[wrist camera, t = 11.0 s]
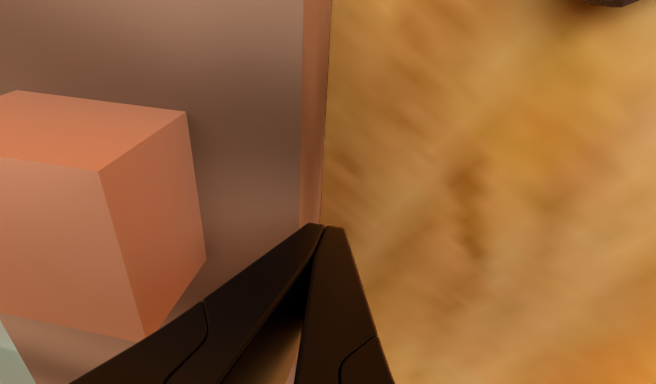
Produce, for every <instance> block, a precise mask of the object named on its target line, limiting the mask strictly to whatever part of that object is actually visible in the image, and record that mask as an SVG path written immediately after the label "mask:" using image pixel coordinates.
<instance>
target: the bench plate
mask: <svg viewBox="0 0 656 384" xmlns="http://www.w3.org/2000/svg"><path fill="white" fill-rule="evenodd" d="M331 7H332V0H0V96H1V95H4V94H7V93H9V92H12V91H15V90H20V91H28V92H36V93H44V94H52V95H60V96H67V97H75V98H83V99H91V100H99V101H107V102H114V103H122V104H130V105H138V106H146V107H153V108H161V109H169V110H177V111H185V112H186V115H187V122H188V129H189V136H190V143H191V150H192V157H193V164H194V172H195V179H196V186H197V193H198V200H199V207H200V214H201V221H202V229H203V236H204V243H205V250H206V257H207V259H206V261H205V262H204V264H203V265H202V267H201V268H200V269H199V271H198V272H197V274H196V275H195V277H194V278H193V280H192V281H191V282H190V284H189V285H188V287H187V288H186V290H185V291H184V293H183V294H182V295H181V297H180V298H179V300H178V301H177V303H176V304H175V306H174V307H173V308H172V310H171V311H170V313H169V314H168V316H167V317H166V319H165V320H164V321H163V323H162V324H161V326H160V327H159V329H160V328H162V327H163V326H165V325H166V324H168V323H169V322H171V321H172V320H174V319H175V318H176V317H178V316H179V315H181V314H182V313H184V312H185V311H187V310H188V309H189V308H191V307H192V306H193V305H195V304H196V303H198V302H199V301H202V300H203V298H205V297H206V296H207V295H209V294H210V293H212V292H213V291H214V290H216V289H217V288H219V287H220V286H221V285H223V284H224V283H225V282H227V281H228V280H230V279H231V278H232V277H234V276H235V275H236V274H238V273H239V272H241V271H242V270H243V269H245V268H246V267H248V266H249V265H250V264H252V263H253V262H254V261H256V260H257V259H259V258H260V257H261V256H263V255H264V254H265V253H267V252H268V251H270V250H271V249H272V248H274V247H275V246H276V245H278V244H279V243H281V242H282V241H283V240H285V239H286V238H288V237H289V236H290V235H292V234H293V233H294V232H296V231H297V230H299V229H300V228H301V227H303V226H304V225H305V224H307V223H316V224H320V209H321V191H322V172H323V154H324V136H325V117H326V99H327V80H328V62H329V44H330V25H331ZM202 302H203V301H202ZM0 321H1V322H2V324H3V326H4V328H5V330H6V331H7V333H8V335H9V337H10V338H11V340H12V342H13V344H14V346H15V347H16V349H17V351H18V353H19V354H20V356H21V358H22V360H23V362H24V363H25V365H26V367H27V369H28V370H29V372H30V374H31V376H32V378H33V379H34V381H35V383H36V384H69V383H70V382H72V381H74V380H75V379H77V378H79V377H80V376H82V375H84V374H86V373H87V372H89V371H91V370H92V369H94V368H96V367H97V366H99V365H101V364H102V363H104V362H106V361H107V360H109V359H111V358H113V357H114V356H116V355H118V354H119V353H121V352H123V351H124V350H126V349H128V348H129V347H131V346H133V345H134V344H136V343H138V342H134V341H129V340H125V339H120V338H115V337H111V336H106V335H101V334H97V333H92V332H88V331H83V330H78V329H74V328H69V327H64V326H60V325H55V324H51V323H46V322H41V321H37V320H32V319H27V318H23V317H18V316H14V315H9V314H4V313H0ZM159 329H158V330H159ZM298 352H299V349H298ZM298 352H297V355H296V357H295V360H294V363H293V365H292V368H291V371H290V373H289V376H288V379H287V381H286V384H294V378H295V371H296V365H297V358H298Z"/></svg>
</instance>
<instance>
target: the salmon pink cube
mask: <svg viewBox="0 0 656 384" xmlns="http://www.w3.org/2000/svg"><path fill="white" fill-rule="evenodd" d="M206 259H207V257H206V250H205V243H204V236H203V229H202V221H201V214H200V207H199V200H198V193H197V186H196V179H195V172H194V164H193V157H192V150H191V143H190V136H189V129H188V122H187V115H186V112H185V111H177V110H169V109H161V108H153V107H146V106H138V105H130V104H122V103H114V102H107V101H99V100H91V99H83V98H75V97H67V96H60V95H52V94H44V93H36V92H28V91H20V90H15V91H12V92H9V93H7V94H4V95H1V96H0V313H4V314H9V315H14V316H18V317H23V318H27V319H32V320H37V321H41V322H46V323H51V324H55V325H60V326H64V327H69V328H74V329H78V330H83V331H88V332H92V333H97V334H101V335H106V336H111V337H115V338H120V339H125V340H129V341H134V342H139V341H141V340H142V339H144V338H146V337H147V336H149V335H151V334H152V333H154V332H155V331H157V330H158V329H159V327H160V326H161V324H162V323H163V321H164V320H165V319H166V317H167V316H168V314H169V313H170V311H171V310H172V308H173V307H174V306H175V304H176V303H177V301H178V300H179V298H180V297H181V295H182V294H183V293H184V291H185V290H186V288H187V287H188V285H189V284H190V282H191V281H192V280H193V278H194V277H195V275H196V274H197V272H198V271H199V269H200V268H201V267H202V265H203V264H204V262H205V261H206Z"/></svg>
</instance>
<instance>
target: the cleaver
mask: <svg viewBox="0 0 656 384" xmlns="http://www.w3.org/2000/svg"><path fill="white" fill-rule="evenodd" d="M583 1H584V2H585V3H588V4H591V5H598V6H607V7H623V6H626V5H628V4H631V3H634V2H636V1H639V0H583Z"/></svg>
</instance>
